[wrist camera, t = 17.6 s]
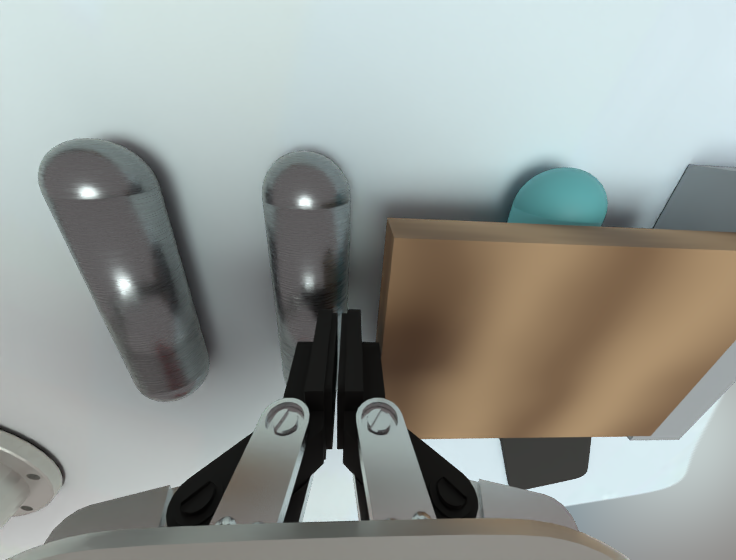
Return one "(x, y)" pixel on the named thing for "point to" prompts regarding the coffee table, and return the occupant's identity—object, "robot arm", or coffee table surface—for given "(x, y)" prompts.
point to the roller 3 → (560, 199)
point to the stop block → (700, 213)
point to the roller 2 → (306, 245)
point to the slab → (549, 325)
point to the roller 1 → (128, 261)
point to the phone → (544, 460)
